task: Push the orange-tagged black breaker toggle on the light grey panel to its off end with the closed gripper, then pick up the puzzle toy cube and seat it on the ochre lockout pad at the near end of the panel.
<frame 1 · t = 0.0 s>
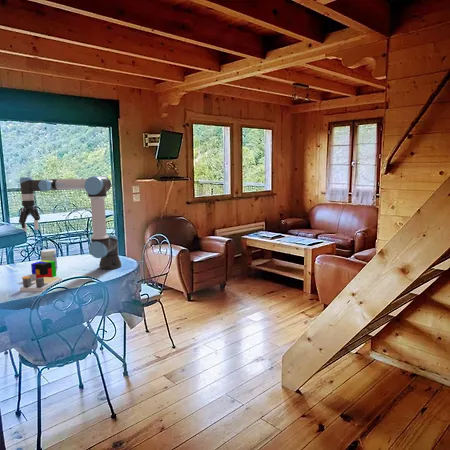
hand: (30, 231, 262), 28 cm above the table, tool pointing down, fingers open, 13 cm apart
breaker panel: (42, 285, 232), on the table
supplement tub: (50, 271, 265), on the table
puzzle toy: (44, 277, 250), on the table
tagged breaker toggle: (27, 281, 224), point 5 cm above the table, slide at 0.0 cm
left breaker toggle: (40, 282, 223), point 5 cm above the table, slide at 0.0 cm
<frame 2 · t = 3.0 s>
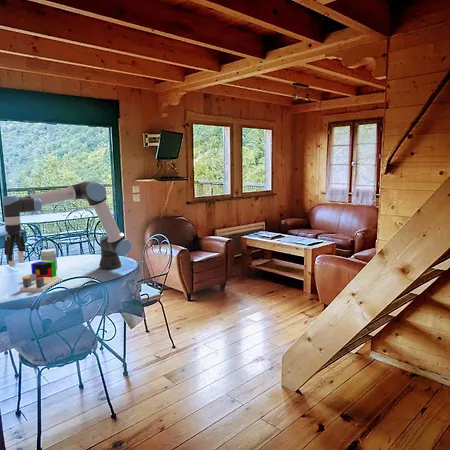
hand: (16, 264, 214), 17 cm above the table, tool pointing down, fingers open, 8 cm apart
nothing on the table moved.
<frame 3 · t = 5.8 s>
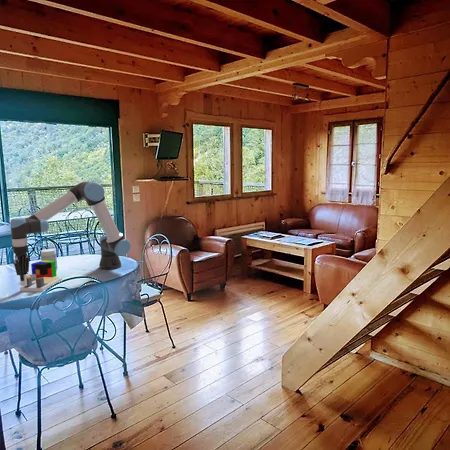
hand: (24, 285, 221), 3 cm above the table, tool pointing down, fingers closed
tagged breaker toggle: (27, 281, 224), point 5 cm above the table, slide at 0.6 cm, touching gripper
everything else where it was.
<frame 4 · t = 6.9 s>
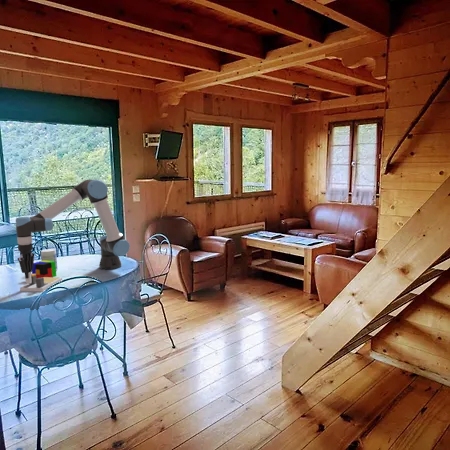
hand: (28, 283, 225), 4 cm above the table, tool pointing down, fingers closed
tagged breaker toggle: (32, 278, 229), point 5 cm above the table, slide at 5.1 cm, touching gripper
everything else where it was.
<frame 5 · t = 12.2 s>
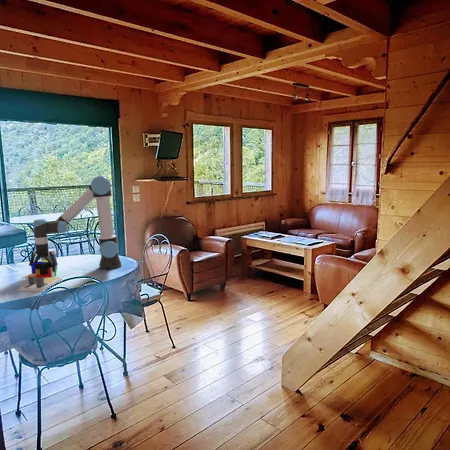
hand: (44, 276, 250), 1 cm above the table, tool pointing down, fingers closed on puzzle toy, 11 cm apart
puzzle toy: (44, 277, 250), on the table, touching gripper
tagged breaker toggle: (32, 278, 229), point 5 cm above the table, slide at 5.1 cm
everything else where it was.
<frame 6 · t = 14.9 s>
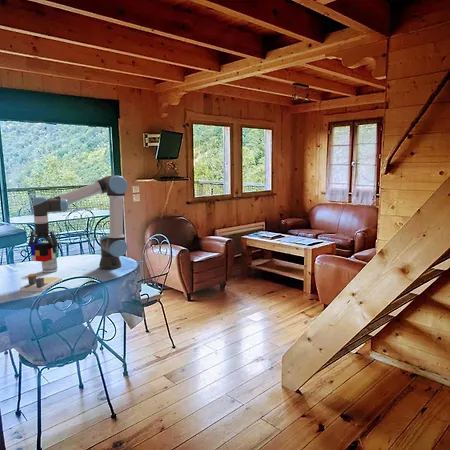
hand: (44, 258, 234), 16 cm above the table, tool pointing down, fingers closed on puzzle toy, 11 cm apart
puzzle toy: (44, 259, 234), point 15 cm above the table, touching gripper
everything else where it was.
when the fingers open (4 cm above the table, at t = 17.5 s): puzzle toy drops 2 cm, resting on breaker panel.
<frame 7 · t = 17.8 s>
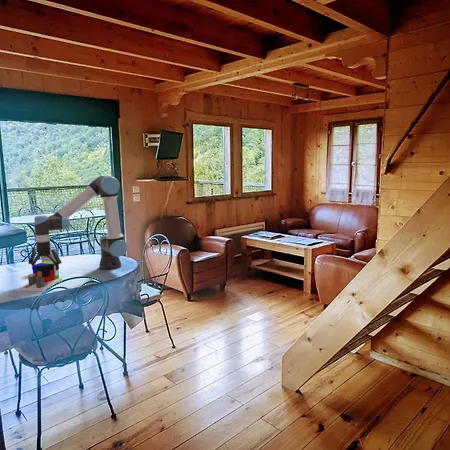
hand: (46, 275, 236), 5 cm above the table, tool pointing down, fingers open, 13 cm apart
puzzle toy: (46, 280, 236), point 2 cm above the table, touching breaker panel
everything else where it was.
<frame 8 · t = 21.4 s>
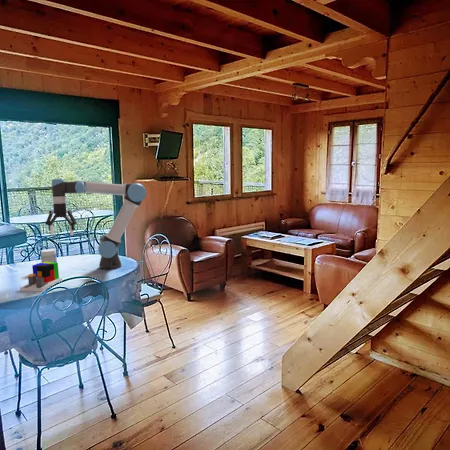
hand: (62, 235, 251), 27 cm above the table, tool pointing down, fingers open, 13 cm apart
nothing on the table moved.
at the end: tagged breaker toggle slide at 5.1 cm; puzzle toy inside the target area (0.1 cm from its centre), point 2.0 cm above the table; puzzle toy tilted 0° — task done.
